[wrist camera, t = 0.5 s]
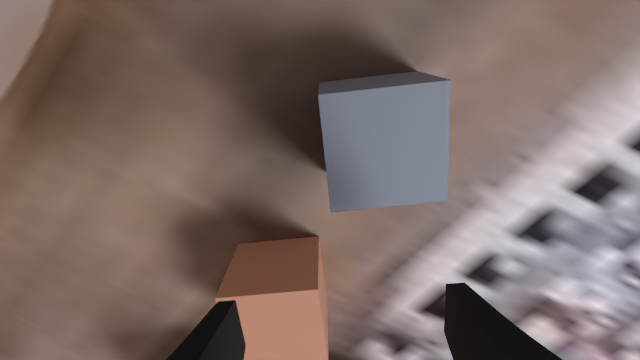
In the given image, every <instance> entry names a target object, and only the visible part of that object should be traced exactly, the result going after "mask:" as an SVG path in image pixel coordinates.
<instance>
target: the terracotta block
mask: <svg viewBox="0 0 640 360" xmlns="http://www.w3.org/2000/svg"><path fill="white" fill-rule="evenodd" d="M215 300H216V303H217V302H218V301H231V300H236V305H237V309H238V313H239V318H240V322H241V327H242V331H243V335H244V340H245V344H246V347H245V354H244V360H328V316H327V296H326V289H325V281H324V273H323V265H322V257H321V249H320V241H319V236H316V237H305V238H294V239H284V240H273V241H262V242H252V243H241V244H238V245H237V247H236V250H235V252H234V255H233V257H232V259H231V262H230V264H229V266H228V269H227V271H226V273H225V276H224V278H223V281H222V283H221V285H220V288H219V290H218V292H217V295H216V297H215Z"/></svg>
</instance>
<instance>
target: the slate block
mask: <svg viewBox="0 0 640 360" xmlns="http://www.w3.org/2000/svg"><path fill="white" fill-rule="evenodd" d="M450 94H451V80H449V79H445V78H441V77H437V76H433V75H430V74H426V73H422V72H418V71H414V72H405V73H396V74H387V75H379V76H370V77H361V78H352V79H343V80H334V81H326V82H319V87H318V100H319V109H320V118H321V127H322V137H323V146H324V155H325V164H326V173H327V182H328V191H329V201H330V210H331V212H340V211H350V210H360V209H371V208H381V207H391V206H402V205H412V204H422V203H433V202H443V201H448V168H449V131H450Z"/></svg>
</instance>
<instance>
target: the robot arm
mask: <svg viewBox="0 0 640 360" xmlns="http://www.w3.org/2000/svg"><path fill="white" fill-rule="evenodd" d="M444 332H445V335H446V339H447V342H448V345H449V348H450V351H451V354H452V357H453V360H562V359H561V358H559V357H558V356H556V355H555V354H553V353H552V352H551V351H549V350H548V349H546V348H545V347H544V346H542V345H541V344H539V343H538V342H537V341H535V340H534V339H533V338H531V337H530V336H528V335H527V334H526V333H525V332H523V331H522V330H521V329H519V328H518V327H517V326H516V325H514V324H513V323H512V322H511V321H509V320H508V319H507V318H506V317H504V316H503V315H502V314H501V313H499V312H498V311H497V310H496V309H495V308H494V307H492V306H491V305H490V304H489V303H488V302H486V301H485V300H484V299H483V298H482V297H481V296H479V295H478V294H477V293H476V292H475V291H474V290H472V289H471V288H470V287H469V286H468V285H467V284H465V283H455V284H446V300H445V324H444ZM245 347H246V344H245V340H244V335H243V331H242V327H241V322H240V318H239V313H238V309H237V305H236V300H231V301H218V302H217V303H216V304H215V306H214V307H213V308H212V309H211V310H210V311H209V312H208V314H207V315H206V316H205V317H204V318H203V319H202V321H201V322H200V323H199V324H198V325H197V326H196V328H195V329H194V330H193V331H192V332H191V333H190V334H189V336H188V337H187V338H186V339H185V340H184V341H183V342H182V343H181V344H180V346H179V347H178V348H177V349H176V350H175V351H174V352H173V353H172V354H171V355H170V356H169V357H168V358H167V359H166V360H244V354H245Z"/></svg>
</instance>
